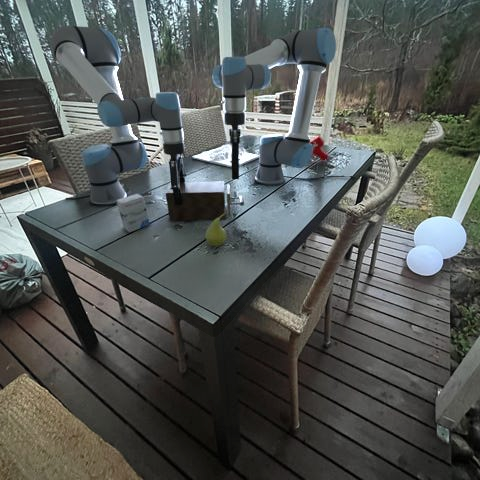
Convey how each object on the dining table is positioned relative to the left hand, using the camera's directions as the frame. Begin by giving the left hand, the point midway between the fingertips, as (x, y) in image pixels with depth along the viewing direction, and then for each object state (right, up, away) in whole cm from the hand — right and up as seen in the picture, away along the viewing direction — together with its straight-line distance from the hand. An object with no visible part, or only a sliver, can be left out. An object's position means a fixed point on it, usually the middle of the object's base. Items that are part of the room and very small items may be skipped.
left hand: (181, 198), depth 108 cm
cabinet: (+6, -6, +4) cm, 10 cm away
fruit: (+16, -18, -15) cm, 29 cm away
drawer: (+12, -5, +4) cm, 14 cm away
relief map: (+14, +38, +72) cm, 82 cm away
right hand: (+22, +7, -4) cm, 23 cm away
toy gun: (+69, +35, +66) cm, 102 cm away
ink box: (-16, -12, -5) cm, 20 cm away
